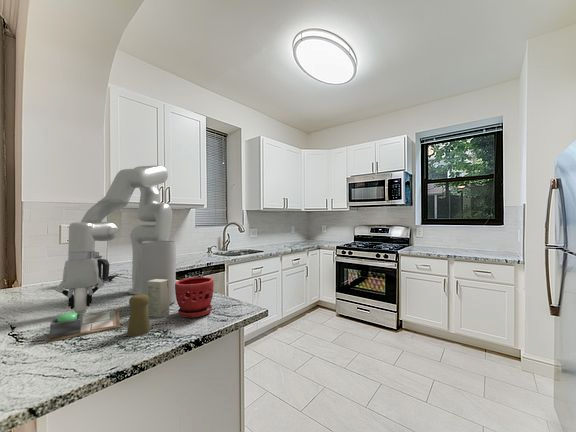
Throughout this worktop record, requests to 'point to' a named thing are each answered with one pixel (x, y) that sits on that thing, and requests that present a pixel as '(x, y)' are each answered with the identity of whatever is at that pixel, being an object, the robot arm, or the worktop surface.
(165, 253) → the cylinder vase
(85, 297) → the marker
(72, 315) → the button
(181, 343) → the worktop surface
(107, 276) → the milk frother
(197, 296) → the plant pot
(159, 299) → the skincare box
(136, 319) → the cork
